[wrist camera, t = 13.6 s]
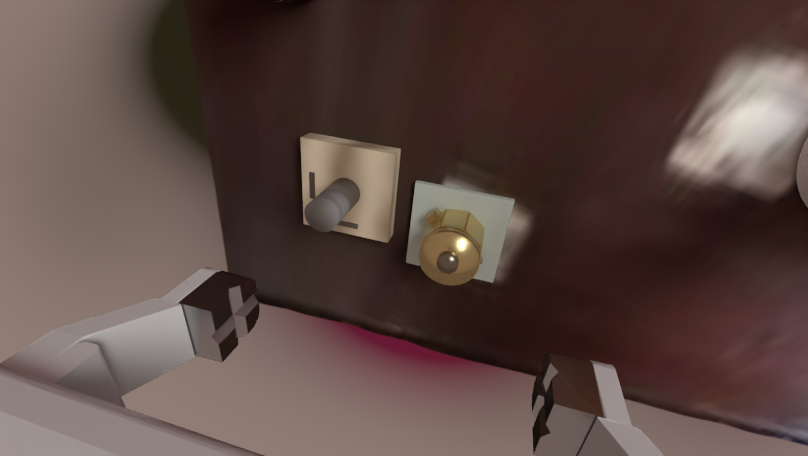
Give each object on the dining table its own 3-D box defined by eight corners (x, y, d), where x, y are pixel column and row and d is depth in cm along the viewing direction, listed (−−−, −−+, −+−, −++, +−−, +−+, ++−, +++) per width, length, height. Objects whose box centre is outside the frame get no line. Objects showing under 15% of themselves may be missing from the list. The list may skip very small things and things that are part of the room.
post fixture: (400, 148, 38) (375, 175, 31) (392, 234, 43) (369, 273, 36) (309, 132, 40) (266, 154, 33) (311, 216, 45) (274, 250, 38)
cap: (453, 193, 38) (444, 218, 33) (500, 245, 40) (497, 277, 34) (413, 224, 41) (398, 252, 36) (457, 271, 42) (449, 305, 37)
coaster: (514, 198, 38) (514, 201, 37) (493, 279, 42) (492, 282, 42) (416, 180, 39) (415, 182, 39) (407, 259, 44) (405, 262, 44)
